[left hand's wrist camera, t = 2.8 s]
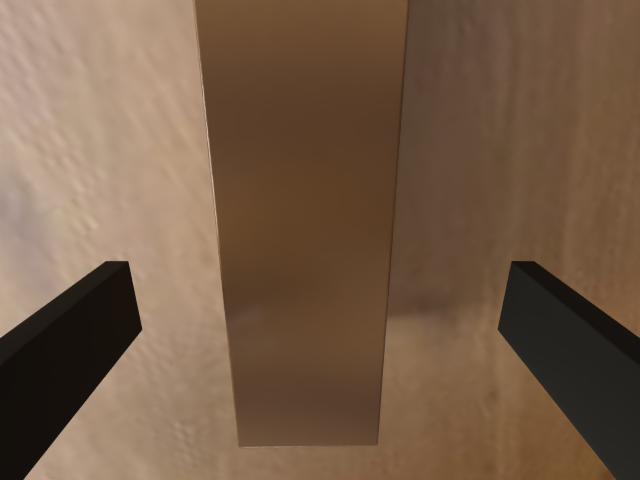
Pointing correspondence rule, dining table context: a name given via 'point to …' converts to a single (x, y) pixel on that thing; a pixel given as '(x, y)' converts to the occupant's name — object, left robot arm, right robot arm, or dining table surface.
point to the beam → (304, 206)
